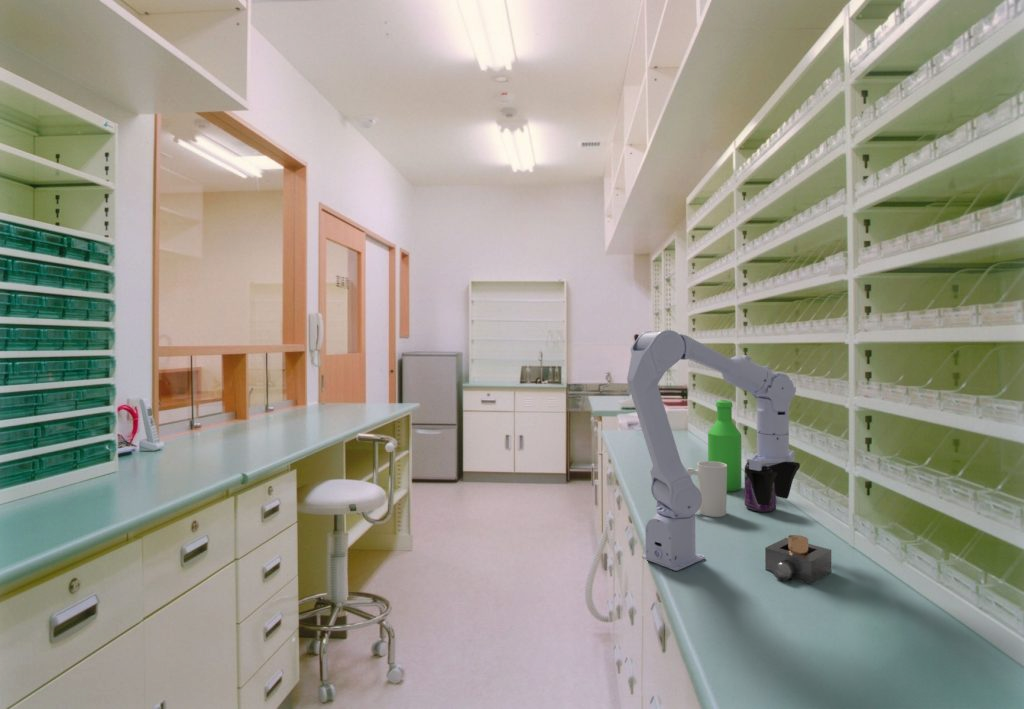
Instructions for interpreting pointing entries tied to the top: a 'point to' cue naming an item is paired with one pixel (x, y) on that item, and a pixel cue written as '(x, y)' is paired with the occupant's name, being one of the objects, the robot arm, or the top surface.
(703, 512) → the mug
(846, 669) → the top surface
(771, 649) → the top surface
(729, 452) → the bottle
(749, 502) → the beverage can
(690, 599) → the top surface
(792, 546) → the tapered valve plug
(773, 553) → the valve body
